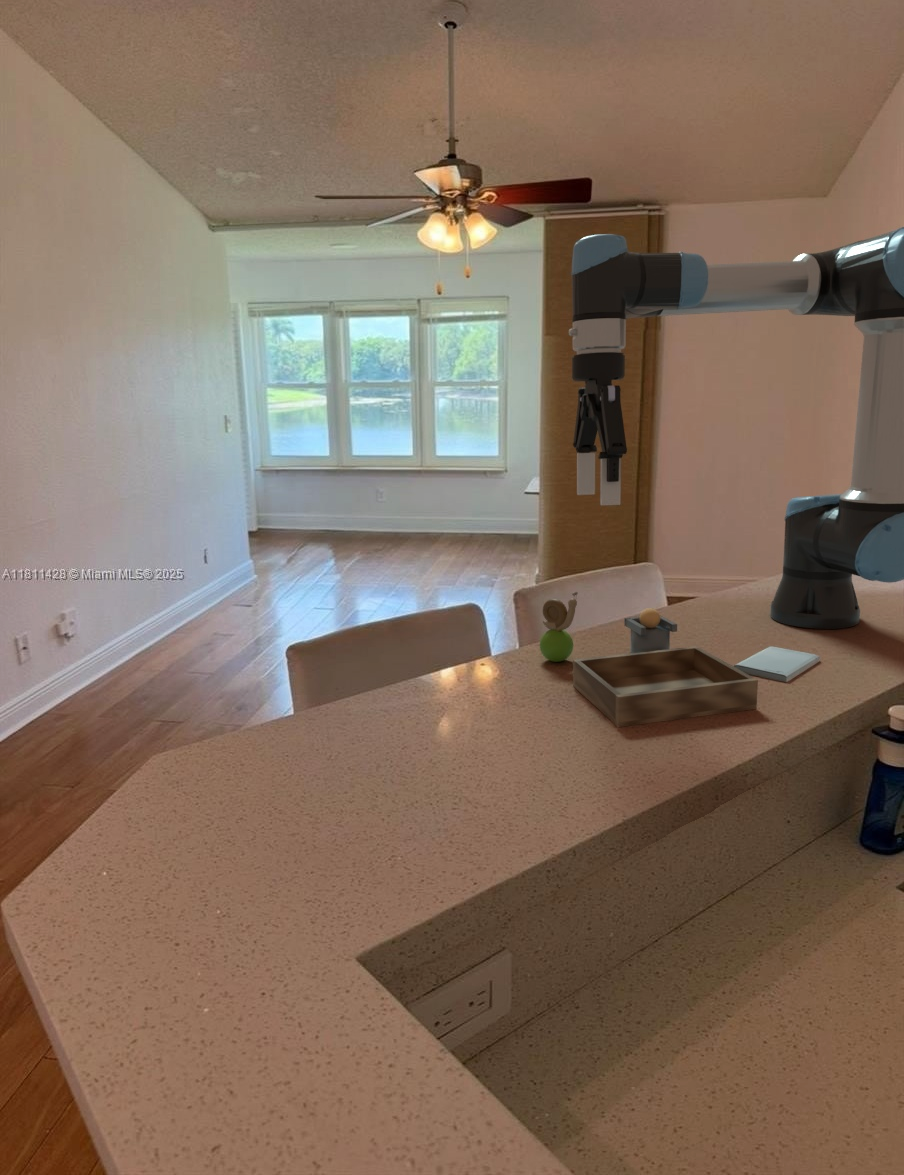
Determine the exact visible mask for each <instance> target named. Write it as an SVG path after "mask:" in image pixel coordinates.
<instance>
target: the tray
mask: <svg viewBox="0 0 904 1175" xmlns="http://www.w3.org/2000/svg"><path fill="white" fill-rule="evenodd" d="M630 653H631V652H630ZM630 653H622V654H615V655H614V654H613V655H607V656H605V655H604V656H597V657H588V658H578V659H573V660H572V670H573V671H572V674H573V675H572V677H573V678H572V679H573V680H572V681H573V682H572V683H573V687H574V688H575V689H576V690H577V691H578V692H579V693H580V694H581V695H582V696H583V697H584V698H586V700H588V701H589V702H590V703H591V704H592V705H594V706H595V708H597V709H598V710H599V711H600V712H601V713H602V714H603V715H604V716H606V717H607V718H608V719H609V720H610V721H611V722H612V724H614V725H615V726H617V727H618V728H620V727H627V726H635V725H642V724H653V723H658V722H666V721H673V720H681V719H689V718H697V716H698V717H703V716H704V717H705V716H712V715H719V714H720V713H721V714H726V713H734V712H735V713H736V712H741V711H742V712H743V711H749V710H757V707H758V704H757V703H758V688H759V686H758V684H759V680H758V679H757V678H755V677H753V675H750V674H746V673H744V672H742V671H741V670H739V669H737V668H735V667H734V665H732V664H729V663H728V662H726V661H725V660H723V659H720V658H719V657H717V656H715V655H713V654H712V653H710V652H708V651H707V650H704V649H703V648H700V647H699V646H695V645H693V646H686V647H679V648H678V647H677V648H670V649H667V650H658V651H649V652H640V653H631V654H630Z"/></svg>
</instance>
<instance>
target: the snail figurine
mask: <svg viewBox="0 0 904 1175" xmlns="http://www.w3.org/2000/svg"><path fill="white" fill-rule="evenodd" d="M571 594H572V596H573V597H576V596H577V595H578V592H577V591H573V592H572V593H571ZM577 603H578V601H577V598H570V599H569V600H568V602H567V604H568V609H567V606H566V605H565V604H564V603H563V602H562V601H561V600H559V599H557V598H551V599H550V598H549V599H547V601H545V603H543V606H542V615H543V617H544V619H545V620H543V621H542V624H543V625H544V626H545V627H546V628H547V629H548V630H547V631H545V633H543V635H542V636H541V638H540V640H539V650H540V652H541V654H542V656H543V657H544V658H545V659H546V660H547V661H550V662H553V663H559V662H563V661H565V660H566V659H568V658H569V657H570V656H571V655H572V653H573V650H574V640H573V638H572V636H571V635H570V633H569V632H567V631H566V630H567V629H568V628H570V626H571V624H572V623H573V621H574V618H575V614H576V608H577V607H576V606H577Z"/></svg>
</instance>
